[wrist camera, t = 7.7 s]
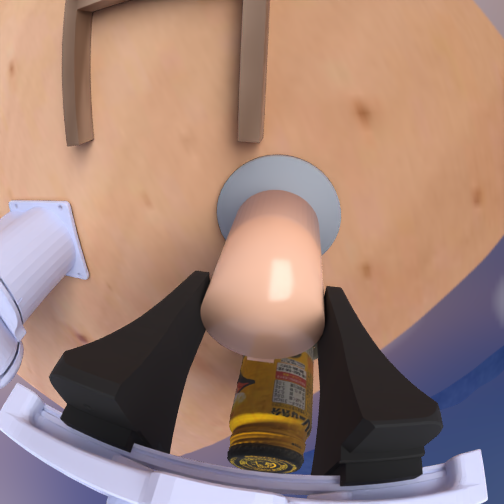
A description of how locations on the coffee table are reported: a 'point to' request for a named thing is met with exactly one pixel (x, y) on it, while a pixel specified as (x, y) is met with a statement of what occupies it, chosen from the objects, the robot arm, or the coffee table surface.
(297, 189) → the coaster
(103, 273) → the coffee table surface
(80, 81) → the holder
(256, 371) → the condiment
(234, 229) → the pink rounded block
